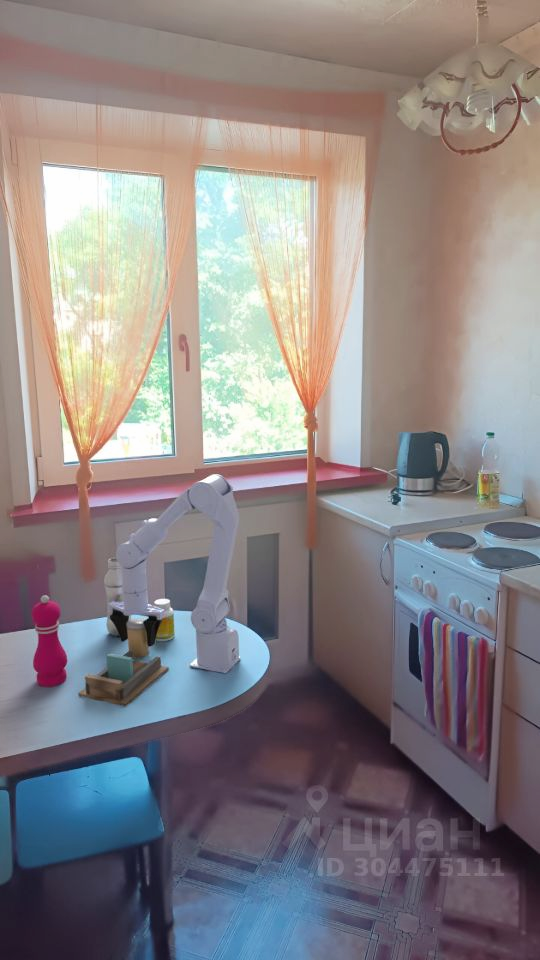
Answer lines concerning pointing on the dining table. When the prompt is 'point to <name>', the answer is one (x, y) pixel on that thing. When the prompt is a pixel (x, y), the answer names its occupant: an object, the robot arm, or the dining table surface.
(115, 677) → the pusher
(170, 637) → the supplement bottle
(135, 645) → the jar
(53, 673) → the pepper mill
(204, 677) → the dining table surface
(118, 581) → the plastic bottle
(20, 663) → the dining table surface
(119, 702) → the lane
